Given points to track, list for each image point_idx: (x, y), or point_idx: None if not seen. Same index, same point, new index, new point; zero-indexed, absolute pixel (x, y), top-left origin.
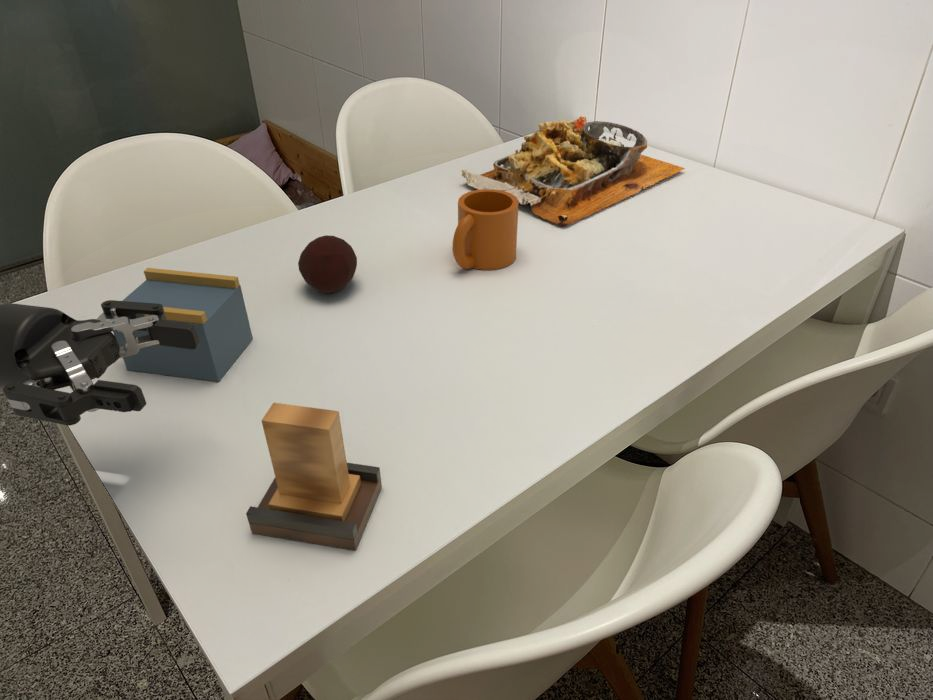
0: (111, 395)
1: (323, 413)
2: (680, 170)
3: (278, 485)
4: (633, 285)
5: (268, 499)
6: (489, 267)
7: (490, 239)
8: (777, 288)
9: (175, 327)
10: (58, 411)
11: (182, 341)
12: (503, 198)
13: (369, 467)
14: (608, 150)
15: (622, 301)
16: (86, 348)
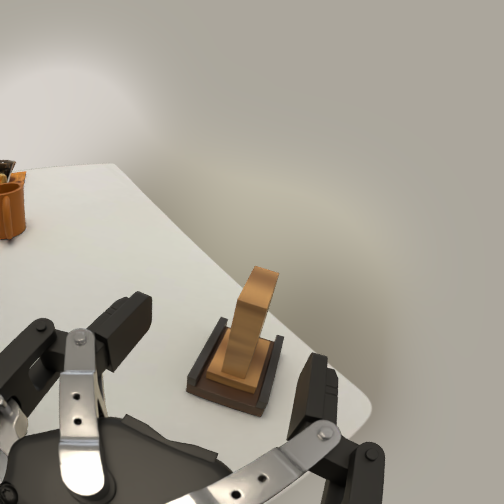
0: (331, 392)
1: (258, 272)
2: (25, 172)
3: (247, 371)
4: (86, 204)
5: (237, 396)
6: (20, 231)
7: (19, 209)
8: (124, 184)
9: (132, 309)
10: (334, 502)
11: (139, 329)
12: (5, 187)
13: (220, 322)
14: (5, 167)
15: (96, 209)
16: (163, 470)
